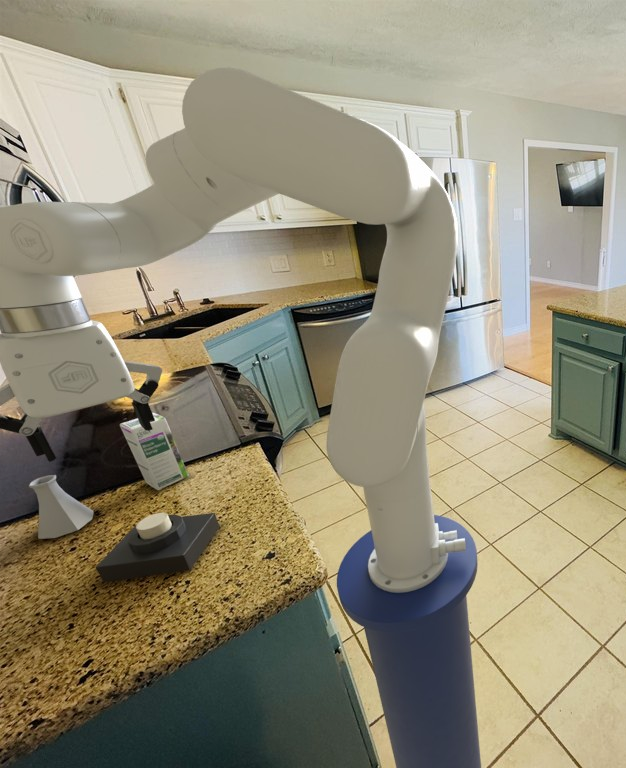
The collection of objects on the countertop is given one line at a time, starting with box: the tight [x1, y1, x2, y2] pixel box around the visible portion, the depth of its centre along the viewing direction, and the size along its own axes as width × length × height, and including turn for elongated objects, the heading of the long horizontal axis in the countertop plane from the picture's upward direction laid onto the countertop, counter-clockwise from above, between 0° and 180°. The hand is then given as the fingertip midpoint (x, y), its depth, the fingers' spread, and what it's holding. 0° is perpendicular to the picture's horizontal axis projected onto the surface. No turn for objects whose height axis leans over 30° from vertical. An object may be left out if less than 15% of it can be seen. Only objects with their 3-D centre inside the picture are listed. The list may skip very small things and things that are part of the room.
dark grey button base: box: [95, 512, 220, 583], centre depth 67 cm, size 12×10×5 cm
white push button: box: [135, 512, 172, 540], centre depth 66 cm, size 4×4×2 cm
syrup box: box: [119, 412, 189, 492], centre depth 84 cm, size 6×6×14 cm
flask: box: [28, 474, 94, 540], centre depth 72 cm, size 7×7×10 cm
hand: (102, 441), depth 55 cm, fingers open, 9 cm apart
